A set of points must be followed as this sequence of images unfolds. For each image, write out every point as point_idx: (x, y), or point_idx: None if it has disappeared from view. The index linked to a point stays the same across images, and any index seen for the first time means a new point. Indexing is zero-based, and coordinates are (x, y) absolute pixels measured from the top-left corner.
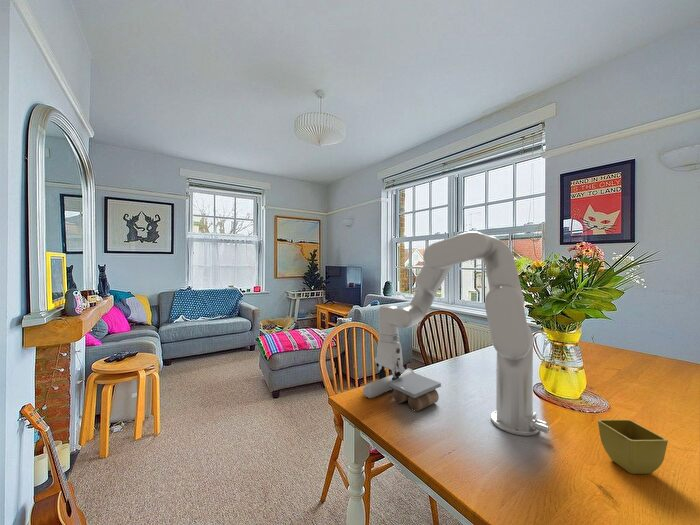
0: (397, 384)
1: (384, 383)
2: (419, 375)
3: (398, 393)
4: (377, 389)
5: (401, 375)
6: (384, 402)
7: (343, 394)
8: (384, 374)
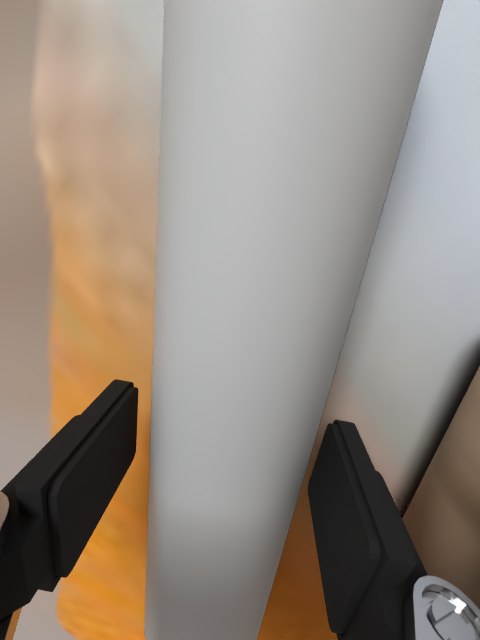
0: None
1: (254, 586)
2: None
3: None
4: (257, 633)
5: (312, 285)
6: None
7: (77, 604)
8: (92, 469)
